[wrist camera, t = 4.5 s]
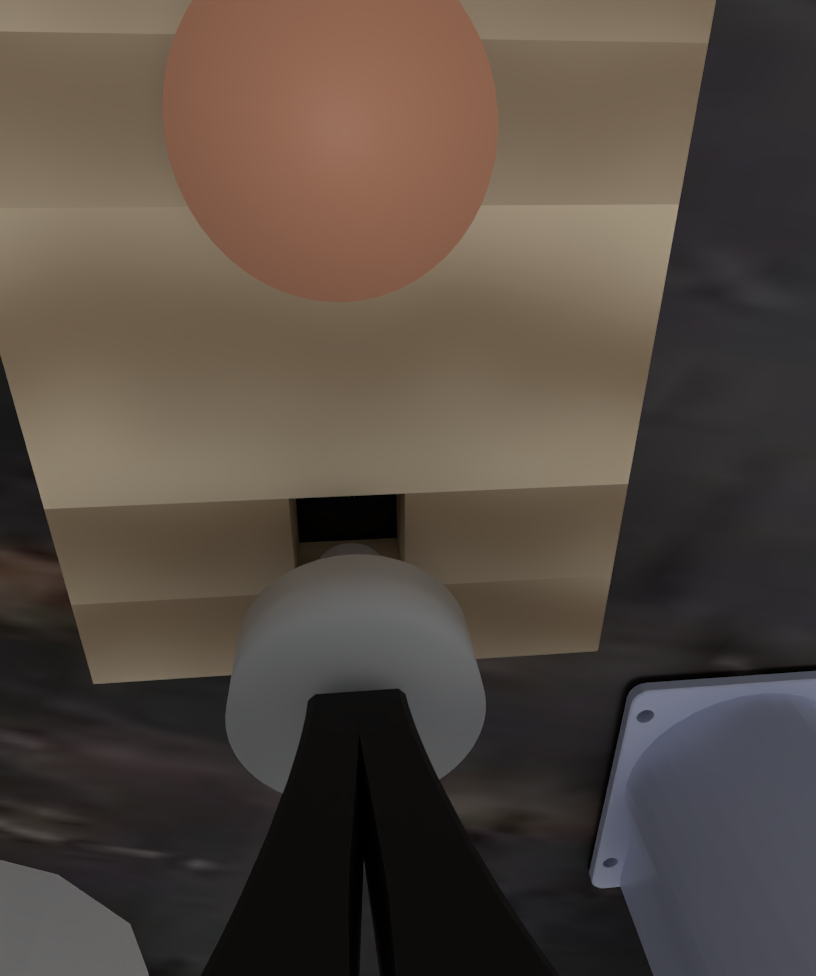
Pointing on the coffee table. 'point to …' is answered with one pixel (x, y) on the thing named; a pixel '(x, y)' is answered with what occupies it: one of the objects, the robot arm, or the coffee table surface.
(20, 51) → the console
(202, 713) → the coffee table surface
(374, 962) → the coffee table surface
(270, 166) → the rust plunger
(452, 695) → the grey plunger
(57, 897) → the container
